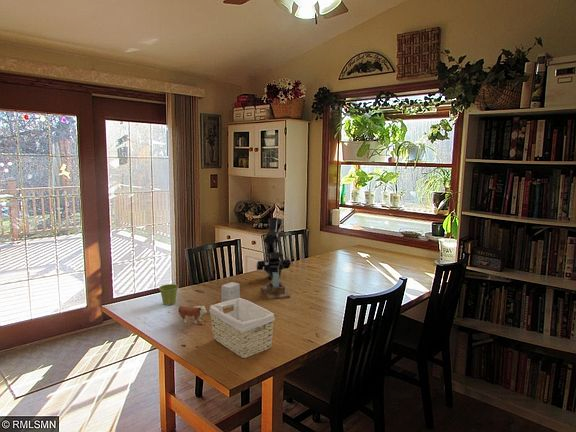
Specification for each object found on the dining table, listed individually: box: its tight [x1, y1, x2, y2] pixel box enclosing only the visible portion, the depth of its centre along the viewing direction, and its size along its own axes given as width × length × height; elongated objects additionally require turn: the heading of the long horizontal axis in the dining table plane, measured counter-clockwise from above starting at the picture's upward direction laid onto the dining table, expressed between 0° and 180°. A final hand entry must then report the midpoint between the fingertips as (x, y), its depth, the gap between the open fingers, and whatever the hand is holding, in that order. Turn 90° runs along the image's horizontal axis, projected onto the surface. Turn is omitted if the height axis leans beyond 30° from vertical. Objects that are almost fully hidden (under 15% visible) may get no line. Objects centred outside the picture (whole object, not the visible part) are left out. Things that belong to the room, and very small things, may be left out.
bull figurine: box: [178, 305, 207, 324], centre depth 180 cm, size 4×13×8 cm, turn 80°
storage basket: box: [208, 297, 276, 359], centre depth 159 cm, size 24×16×15 cm
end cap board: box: [261, 281, 291, 300], centre depth 221 cm, size 12×18×4 cm, turn 14°
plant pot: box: [158, 283, 179, 306], centre depth 203 cm, size 9×9×9 cm
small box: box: [220, 281, 241, 309], centre depth 203 cm, size 8×6×10 cm
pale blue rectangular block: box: [271, 272, 280, 288], centre depth 221 cm, size 3×5×10 cm, turn 14°
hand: (275, 278), depth 220 cm, fingers open, 4 cm apart
